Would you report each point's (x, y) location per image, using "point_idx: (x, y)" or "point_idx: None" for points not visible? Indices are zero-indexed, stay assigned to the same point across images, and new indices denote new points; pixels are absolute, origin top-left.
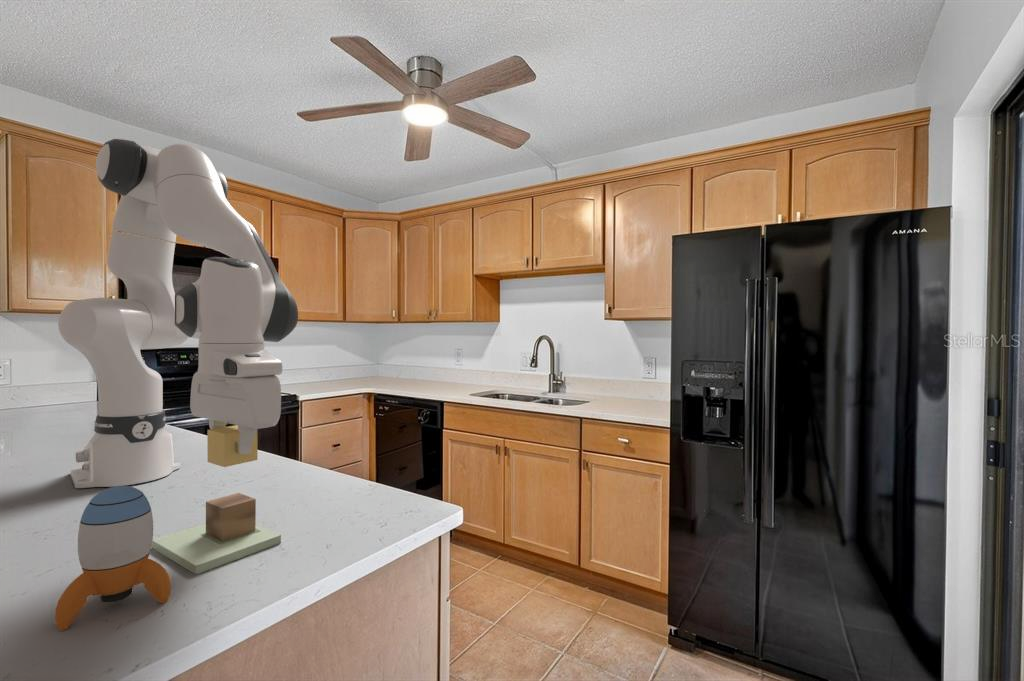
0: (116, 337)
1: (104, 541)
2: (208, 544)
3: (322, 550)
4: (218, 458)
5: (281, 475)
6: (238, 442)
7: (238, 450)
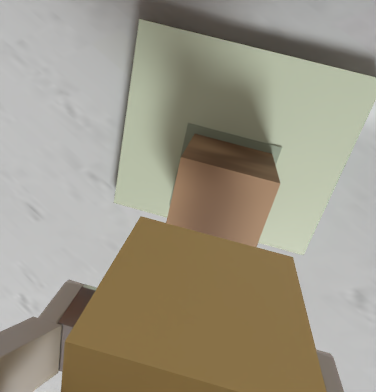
0: None
1: None
2: (214, 113)
3: (27, 194)
4: (187, 248)
5: None
6: (49, 324)
7: (75, 292)
